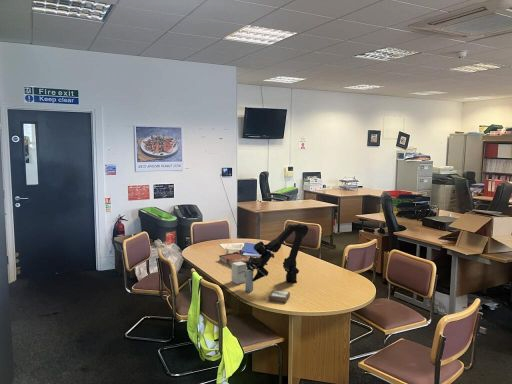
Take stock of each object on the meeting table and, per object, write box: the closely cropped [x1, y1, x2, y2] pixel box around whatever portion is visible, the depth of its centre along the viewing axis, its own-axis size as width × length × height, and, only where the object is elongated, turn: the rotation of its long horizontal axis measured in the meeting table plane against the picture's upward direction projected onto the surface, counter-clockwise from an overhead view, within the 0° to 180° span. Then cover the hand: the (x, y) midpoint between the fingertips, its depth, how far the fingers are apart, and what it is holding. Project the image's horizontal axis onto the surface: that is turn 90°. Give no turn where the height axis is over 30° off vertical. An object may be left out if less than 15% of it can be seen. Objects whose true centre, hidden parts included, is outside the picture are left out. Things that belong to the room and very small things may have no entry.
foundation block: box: [268, 289, 291, 304], centre depth 234 cm, size 10×10×3 cm
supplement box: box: [231, 261, 247, 285], centre depth 262 cm, size 7×7×13 cm
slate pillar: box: [244, 269, 254, 293], centre depth 246 cm, size 5×5×12 cm
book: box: [218, 251, 250, 268], centre depth 305 cm, size 26×18×5 cm
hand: (248, 279), depth 246 cm, fingers open, 9 cm apart
